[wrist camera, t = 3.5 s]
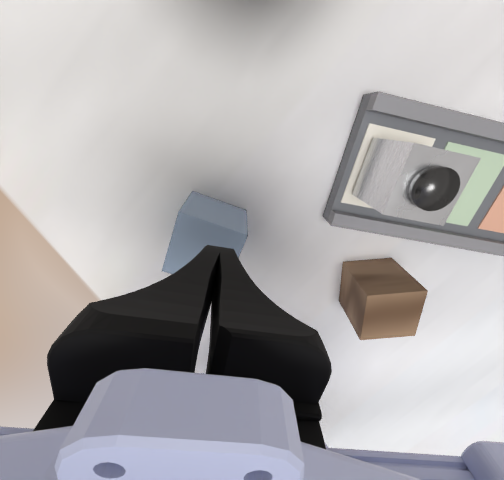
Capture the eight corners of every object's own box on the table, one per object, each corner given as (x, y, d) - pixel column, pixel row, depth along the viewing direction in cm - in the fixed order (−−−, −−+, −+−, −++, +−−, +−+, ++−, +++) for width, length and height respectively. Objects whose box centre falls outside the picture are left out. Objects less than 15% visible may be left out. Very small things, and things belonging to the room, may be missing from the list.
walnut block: (383, 296, 25) (414, 335, 21) (338, 300, 25) (360, 339, 21) (391, 257, 23) (427, 290, 19) (342, 261, 23) (367, 295, 19)
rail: (507, 249, 23) (531, 261, 21) (322, 216, 21) (331, 225, 19) (579, 148, 20) (615, 151, 18) (363, 94, 17) (378, 91, 16)
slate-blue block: (228, 255, 22) (225, 289, 18) (178, 239, 22) (161, 270, 17) (246, 210, 21) (247, 235, 16) (192, 190, 20) (178, 211, 15)
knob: (400, 203, 19) (450, 229, 15) (351, 194, 19) (387, 217, 14) (425, 149, 18) (491, 159, 13) (373, 137, 17) (421, 143, 13)
